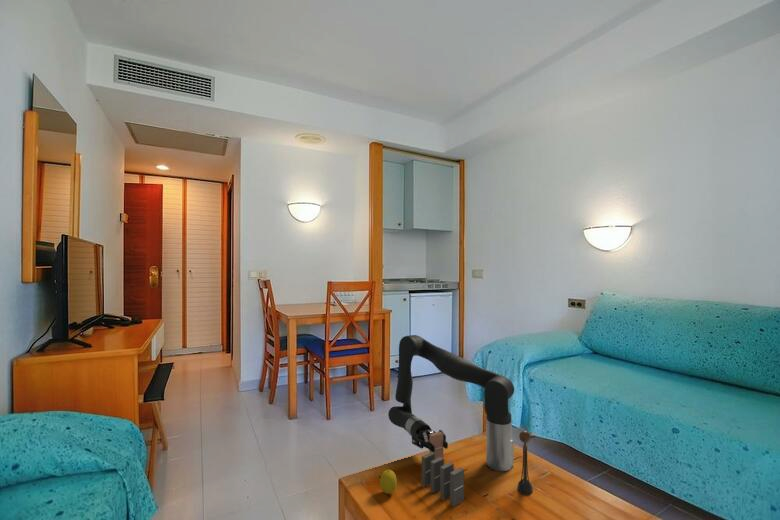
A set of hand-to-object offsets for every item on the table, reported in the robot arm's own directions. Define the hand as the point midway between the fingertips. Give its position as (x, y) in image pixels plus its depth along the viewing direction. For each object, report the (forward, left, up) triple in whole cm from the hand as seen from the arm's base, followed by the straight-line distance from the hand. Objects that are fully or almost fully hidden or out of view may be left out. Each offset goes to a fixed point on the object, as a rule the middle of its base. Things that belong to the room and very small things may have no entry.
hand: (440, 447), depth 133 cm
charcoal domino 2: (+6, +7, -10) cm, 14 cm away
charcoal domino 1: (+7, +3, -10) cm, 12 cm away
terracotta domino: (0, -3, -6) cm, 7 cm away
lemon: (+22, +3, -10) cm, 24 cm away
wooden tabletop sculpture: (-22, +20, -10) cm, 31 cm away
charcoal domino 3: (+5, +12, -10) cm, 16 cm away
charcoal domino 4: (+4, +16, -10) cm, 19 cm away
